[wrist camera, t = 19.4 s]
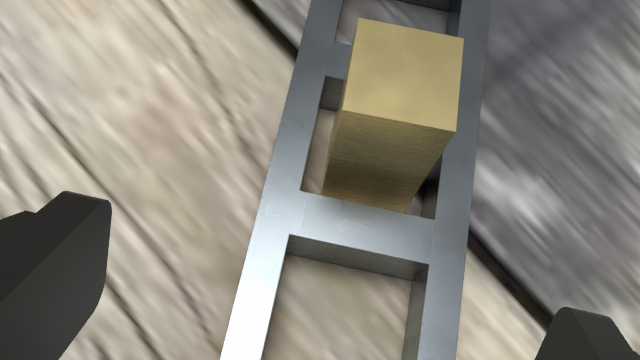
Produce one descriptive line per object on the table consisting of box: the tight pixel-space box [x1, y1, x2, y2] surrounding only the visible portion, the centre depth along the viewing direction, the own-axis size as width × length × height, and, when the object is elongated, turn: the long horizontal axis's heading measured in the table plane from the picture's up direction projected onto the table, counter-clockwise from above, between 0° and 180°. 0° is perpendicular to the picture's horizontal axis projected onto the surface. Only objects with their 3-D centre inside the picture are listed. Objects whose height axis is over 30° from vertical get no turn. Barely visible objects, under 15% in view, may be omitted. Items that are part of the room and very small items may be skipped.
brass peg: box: [320, 18, 464, 213], centre depth 25 cm, size 4×4×9 cm
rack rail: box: [220, 0, 491, 360], centre depth 28 cm, size 24×9×3 cm, turn 169°
